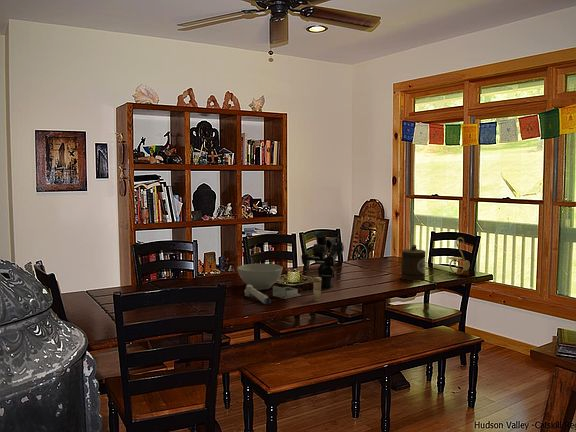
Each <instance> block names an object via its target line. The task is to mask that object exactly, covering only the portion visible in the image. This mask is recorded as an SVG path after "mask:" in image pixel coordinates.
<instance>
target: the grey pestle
mask: <svg viewBox="0 0 576 432" xmlns="http://www.w3.org/2000/svg"><path fill="white" fill-rule="evenodd" d="M243 291H244V296H245V297H256V298H257V300H259V301H260V302H261V303H262V304H264V305H270V304H271V303H272V301H271V298H270V297H269V296H268V295H267V294H264V293H262V292H261V291H260V290H256V289H254V288H253V286H252V285H247V284H246V286H245V289H243Z"/></svg>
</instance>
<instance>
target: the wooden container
mask: <svg viewBox="0 0 576 432" xmlns="http://www.w3.org/2000/svg"><path fill="white" fill-rule="evenodd" d="M410 247H411V248H408V249H407V248H406V249H402V252H401V279H402V280H404V279H407V280H406V281H409V280H421V281H423V280H422V279H424V280H426V255H427V254H426V250H424V249H417V245H416V244H412V245H410Z"/></svg>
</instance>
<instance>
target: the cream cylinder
mask: <svg viewBox="0 0 576 432" xmlns="http://www.w3.org/2000/svg"><path fill="white" fill-rule="evenodd" d="M312 283H313V284H312V285H313V286H312V287H313V288H312V297H313V298H312V299H313V301H314V302H320V301H321V300H322V298H321V297H322V293H321V292H322V288H321V286H322V277H319V276H315V277H313V278H312Z"/></svg>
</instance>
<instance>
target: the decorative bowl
mask: <svg viewBox="0 0 576 432" xmlns="http://www.w3.org/2000/svg"><path fill="white" fill-rule="evenodd" d="M283 269H284V267H283V266H282V265H280V264H274V263H249V264H242V265H239V266H237V273H238V275H239V277H240V279H241V280H242V282H244V284H245V285H246V286H247V285H252V286H253V288H254V289H256V290H257V291H262V290H269V289H270V288H272V286H274V284H275V283H276V282H277V281H278V280H279V279H280V278H281V275H282V273H283Z"/></svg>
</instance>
